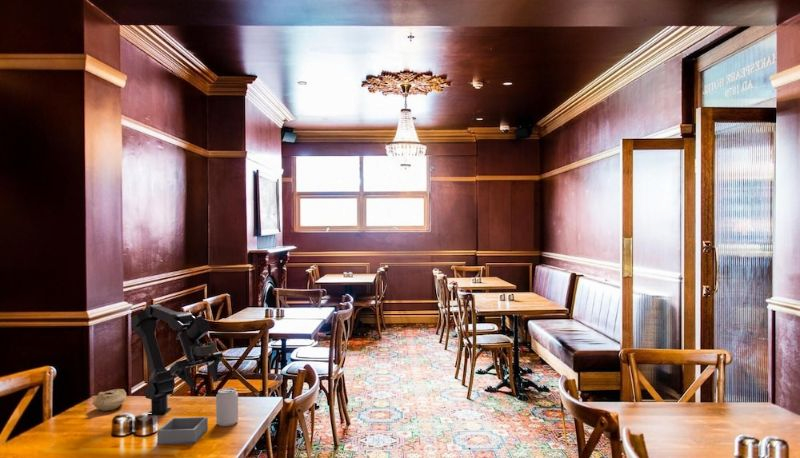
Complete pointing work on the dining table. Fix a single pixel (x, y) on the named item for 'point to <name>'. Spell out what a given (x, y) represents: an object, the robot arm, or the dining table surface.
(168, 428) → the open box
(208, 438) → the dining table surface
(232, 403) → the can
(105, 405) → the oil lamp
